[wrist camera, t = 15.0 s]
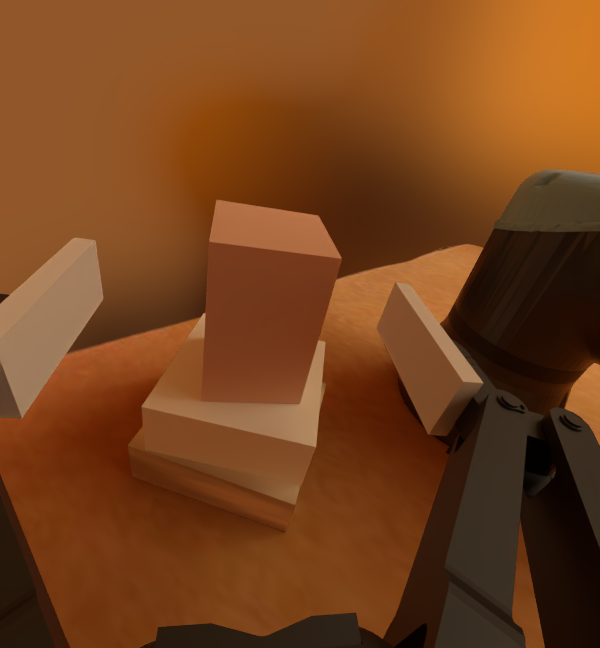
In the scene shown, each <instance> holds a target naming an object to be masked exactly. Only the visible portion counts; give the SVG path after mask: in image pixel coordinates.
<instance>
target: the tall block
mask: <svg viewBox="0 0 600 648" xmlns="http://www.w3.org/2000/svg"><path fill="white" fill-rule="evenodd" d="M341 260H342V258H341V256H340V255H339V253H338V251H337V249H336V247H335V245H334V243H333V242H332V240H331V238H330V237H329V234H328V233H327V231H326V229H325V227H324V225H323V224H322V222H321V220H320V218H319V216H317V215H310V214H304V213H297V212H291V211H285V210H278V209H272V208H266V207H259V206H252V205H246V204H240V203H233V202H227V201H221V200H217V201H216V207H215V212H214V219H213V224H212V229H211V235H210V241H209V257H208V276H207V295H206V296H207V297H206V315H205V334H204V354H203V374H202V393H201V401H206V402H245V403H285V404H300V402H301V399H302V395H303V392H304V388H305V385H306V381H307V378H308V374H309V371H310V367H311V364H312V360H313V357H314V354H315V350H316V347H317V343H318V340H319V336H320V333H321V329H322V326H323V322H324V319H325V315H326V312H327V309H328V305H329V302H330V298H331V295H332V291H333V288H334V284H335V281H336V277H337V274H338V270H339V267H340V264H341Z"/></svg>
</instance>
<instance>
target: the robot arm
mask: <svg viewBox="0 0 600 648" xmlns="http://www.w3.org/2000/svg"><path fill="white" fill-rule="evenodd" d="M493 226H494V230H493V232H492V234H491V236H490V237H489V240H488V241H487V243H486V245H485V247H484V249H483V251H482V252H481V254H480V256H479V258H478V260H477V262H476V264H475V266H474V268H473V269H472V271H471V273H470V275H469V277H468V279H467V281H466V283H465V284H464V286H463V288H462V290H461V292H460V294H459V296H458V297H457V299H456V301H455V303H454V305H453V307H452V309H451V311H450V312H449V314H448V316H447V317H446V319H445V320H444V321H442V322H441V323H440V324H439V323H438V321H437V320H436V319H435V317H434V316H433V315H432V313H431V312H430V311H429V309H428V308H427V307H426V305H425V304H424V303H423V301H422V300H421V298H420V297H419V296H418V294H417V293H416V292H415V290H414V289H413V288H412V286H411V285H410V284H405V283H398V282H395V284H394V287H393V289H392V291H391V294H390V296H389V299H388V301H387V304H386V306H385V309H384V311H383V314H382V316H381V319H380V321H379V323H378V326H377V330H378V332H379V334H380V336H381V338H382V340H383V342H384V345H385V347H386V349H387V351H388V353H389V355H390V357H391V359H392V361H393V363H394V365H395V367H396V369H397V371H398V373H399V378H398V380H399V387H400V391H401V393H402V396H403V398H404V400H405V402H406V404H407V405H408V407H409V408H410V410H411V411H412V412H413V414H414V415H415V416H416V417H417V418H418V419H419V421H420V422H421V423H422V424H423V425H424V427H425V429H426V431H427V433H428V435H436V436H437V437H438V438H440V439H441V440H443V441H444V442H445V443H447V444H448V445H450V447H449V449H448V450H447V451H446V453H447V454H449V453H450V452H451V453H450V456H449V459H448V462H447V465H446V468H445V471H444V474H443V477H442V480H441V483H440V486H439V489H438V492H437V495H436V498H435V500H434V503H433V506H432V509H431V512H430V515H429V518H428V521H427V524H426V527H425V530H424V533H423V536H422V539H421V542H420V545H419V548H418V551H417V554H416V557H415V560H414V563H413V566H412V569H411V572H410V575H409V578H408V581H407V584H406V587H405V590H404V593H403V596H402V599H401V602H400V605H399V608H398V610H397V613H396V615H395V617H394V619H393V621H392V623H391V624H390V626H389V628H388V630H387V632H386V634H385V636H384V638H383V639H382V638H380V637H379V636H377V635H376V634H374V633H372V632H370V631H368V630H366V629H364V628H362V627H359V626H358V621H357V616H356V613H347V614H333V615H320V616H311V617H308V618H306V619H304V620H302V621H299V622H297V623H295V624H293V625H290V626H288V627H286V628H284V629H281V630H279V631H277V632H274V633H272V634H270V635H267V636H256V635H252V634H248V633H245V632H241V631H237V630H234V629H230V628H226V627H223V626H219V625H215V624H211V623H210V624H196V625H183V626H169V627H158V632H157V638H156V641H154V642H151V643H149V644H146V645H144V646H142V647H140V648H526V647H525V636H524V633H523V630H522V628H520V627H519V626H518V625H516V624H515V623H514V622H513V619H512V604H513V592H514V581H515V569H516V557H517V546H518V534H519V523H520V521H521V526H522V531H523V536H524V541H525V546H526V552H527V557H528V562H529V567H530V572H531V577H532V582H533V588H534V593H535V598H536V603H537V608H538V613H539V618H540V624H541V629H542V634H543V639H544V644H545V648H600V446H599V444H598V441H597V439H596V437H595V435H594V433H593V431H592V430H591V428H590V427H589V425H588V424H587V423H586V422H585V421H584V420H583V419H582V418H581V417H579V416H577V415H576V414H575V413H573V412H570V411H568V410H566V409H565V406H566V403H567V400H568V397H569V394H570V391H571V388H572V386H573V384H574V383H575V382H576V381H577V379H578V378H579V377H580V376H581V375H582V374H583V373H584V372H585V371H586V370H587V368H589V367H590V366H591V365H592V364H593V363H597V364H599V365H600V174H594V173H586V172H578V171H568V170H557V169H549V170H543V171H540V172H537V173H535V174H533V175H531V176H529V177H528V178H527V179H525V180H524V181H523V182H522V184H521V185H520V186H519V188H518V189H517V191H516V192H515V194H514V196H513V197H512V199H511V201H510V202H509V204H508V206H507V207H506V209H505V210H504V212H503V213H502V215H501V217H500V218H499V219H497V220H496V221H495V223H494V225H493ZM102 300H103V292H102V285H101V278H100V271H99V263H98V256H97V249H96V242H95V240H88V239H80V238H73V239H72V240H71V241H70V242H69V243H68V244H66V245H65V246H64V247H63V248H62V249H61V250H60V251H59V252H58V253H56V254H55V255H54V256H53V257H52V258H51V259H50V260H49V261H47V262H46V263H45V264H44V265H43V266H42V267H41V268H40V269H39V270H38V271H36V272H35V273H34V274H33V275H32V276H31V277H30V278H28V279H27V280H26V281H25V282H24V283H23V284H22V285H21V286H20V287H18V288H17V289H16V290H15V291H14V292H13V293H12V294H11V295H6V294H0V417H2V418H23V416H24V415H25V414H26V412H27V411H28V409H29V408H30V406H31V405H32V403H33V402H34V400H35V399H36V397H37V396H38V394H39V393H40V391H41V390H42V388H43V387H44V386H45V384H46V383H47V381H48V380H49V378H50V377H51V375H52V374H53V372H54V371H55V369H56V368H57V366H58V365H59V363H60V362H61V360H62V359H63V358H64V356H65V355H66V353H67V352H68V350H69V349H70V347H71V346H72V344H73V343H74V341H75V340H76V338H77V337H78V335H79V334H80V332H81V331H82V330H83V328H84V327H85V325H86V324H87V322H88V321H89V319H90V318H91V316H92V315H93V313H94V312H95V310H96V309H97V307H98V306H99V304H100V303H101V301H102ZM0 648H70V647H69V644H68V642H67V640H66V638H65V635H64V633H63V630H62V628H61V625H60V623H59V620H58V618H57V615H56V613H55V610H54V608H53V605H52V603H51V600H50V598H49V595H48V593H47V590H46V588H45V585H44V583H43V580H42V578H41V575H40V573H39V570H38V568H37V565H36V563H35V560H34V558H33V555H32V553H31V550H30V548H29V545H28V543H27V540H26V538H25V535H24V533H23V530H22V528H21V525H20V523H19V520H18V518H17V515H16V513H15V510H14V508H13V505H12V503H11V500H10V497H9V495H8V492H7V490H6V487H5V485H4V482H3V480H2V477H1V475H0Z"/></svg>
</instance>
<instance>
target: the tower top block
mask: <svg viewBox="0 0 600 648" xmlns="http://www.w3.org/2000/svg"><path fill="white" fill-rule="evenodd" d="M205 315H206V314H205V313H204V314H203V315H202V317H201V318H200V320H199V321H198V323H197V324H196V326H195V327H194V329H193V330H192V332H191V333H190V335H189V336H188V338H187V339H186V341H185V342H184V344H183V345H182V347H181V348H180V350H179V351H178V353H177V354H176V356H175V357H174V359H173V360H172V362H171V363H170V365H169V366H168V368H167V369H166V371H165V372H164V374H163V375H162V377H161V378H160V380H159V381H158V383H157V384H156V386H155V387H154V389H153V390H152V392H151V393H150V395H149V396H148V398H147V399H146V400H145V402H144V403H143V405H142V406H141V409H142V420H143V432H144V443H145V450H148V451H152V452H157V453H161V454H165V455H170V456H174V457H178V458H183V459H187V460H191V461H196V462H200V463H205V464H209V465H213V466H218V467H222V468H226V469H231V470H235V471H240V472H244V473H248V474H253V475H257V476H261V477H266V478H270V479H274V480H279V481H283V482H288V483H292V484H296V485H301V486H302V483H303V481H304V478H305V475H306V473H307V470H308V467H309V465H310V462H311V459H312V457H313V454H314V451H315V449H316V443H317V432H318V421H319V410H320V399H321V388H322V376H323V365H324V354H325V343H326V342H324V341H320V340H318V343H317V347H316V350H315V354H314V357H313V360H312V364H311V367H310V371H309V374H308V378H307V381H306V385H305V388H304V392H303V395H302V399H301V402H300V404H285V403H245V402H206V401H201V393H202V374H203V354H204V334H205Z"/></svg>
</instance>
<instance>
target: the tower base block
mask: <svg viewBox="0 0 600 648" xmlns="http://www.w3.org/2000/svg"><path fill="white" fill-rule="evenodd" d="M326 384H327V383H324V382H322V388H321V399H320V407H321V403H322V399H323V396H324V392H325V388H326ZM319 411H320V410H319ZM127 446H128V454H129V461H130V468H131V475H132V477H135V478H137V479H140V480H143V481H145V482H148V483H151V484H154V485H156V486H159V487H162V488H165V489H167V490H170V491H173V492H176V493H178V494H181V495H184V496H187V497H189V498H192V499H195V500H198V501H200V502H203V503H206V504H209V505H211V506H214V507H217V508H219V509H222V510H225V511H228V512H230V513H233V514H236V515H239V516H241V517H244V518H247V519H250V520H252V521H255V522H258V523H261V524H263V525H266V526H269V527H272V528H274V529H277V530H280V531H283V532H285V531H286V529H287V526H288V523H289V521H290V518H291V516H292V513H293V510H294V508H295V505H296V501H297V497H298V493H299V489H300V485H296V484H292V483H288V482H283V481H279V480H274V479H270V478H266V477H261V476H257V475H253V474H248V473H244V472H240V471H235V470H231V469H226V468H222V467H218V466H213V465H209V464H205V463H200V462H196V461H191V460H187V459H183V458H178V457H174V456H170V455H165V454H161V453H157V452H152V451H148V450H145V443H144V432H143V426H142V428H141V429H140V430H139V431H138V433H137V434H136V435H135V436H134V438H133V439H132V440H131V441H130V443H129V444H128V445H127Z"/></svg>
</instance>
